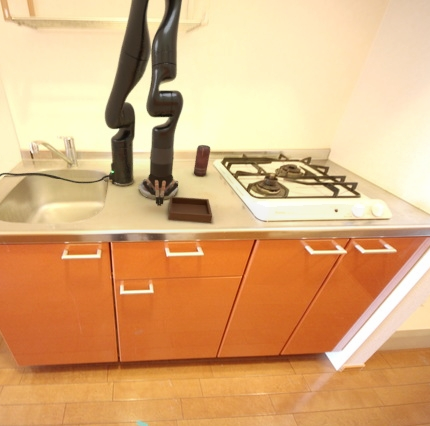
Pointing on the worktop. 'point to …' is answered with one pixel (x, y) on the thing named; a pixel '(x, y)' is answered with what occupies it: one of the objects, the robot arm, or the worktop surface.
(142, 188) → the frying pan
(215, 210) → the worktop surface
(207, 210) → the tray
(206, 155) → the can
